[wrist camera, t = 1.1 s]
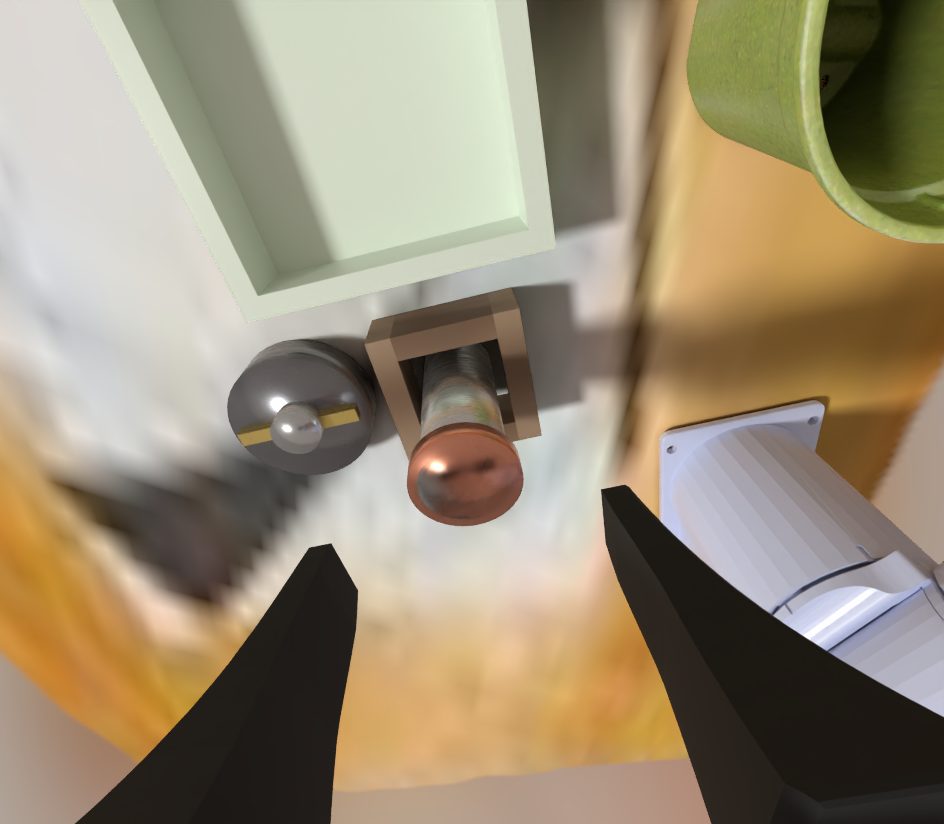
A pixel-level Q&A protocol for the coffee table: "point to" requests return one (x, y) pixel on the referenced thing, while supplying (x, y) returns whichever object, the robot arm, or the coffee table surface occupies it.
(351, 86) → the tray
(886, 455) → the coffee table surface
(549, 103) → the coffee table surface
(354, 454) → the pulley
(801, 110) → the plant pot
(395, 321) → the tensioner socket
